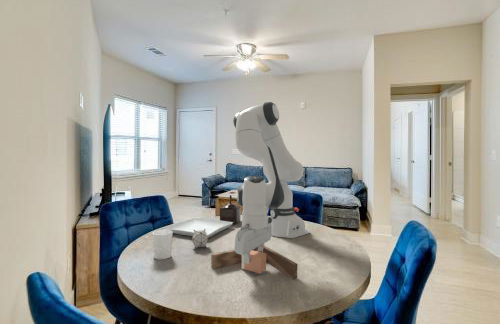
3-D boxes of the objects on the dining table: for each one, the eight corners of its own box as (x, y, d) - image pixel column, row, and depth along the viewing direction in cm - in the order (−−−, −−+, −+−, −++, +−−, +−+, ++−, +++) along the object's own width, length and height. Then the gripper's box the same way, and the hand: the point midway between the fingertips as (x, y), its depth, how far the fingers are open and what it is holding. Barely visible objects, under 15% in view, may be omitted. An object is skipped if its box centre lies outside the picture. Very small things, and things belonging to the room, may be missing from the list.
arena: (262, 256, 114) (262, 244, 114) (297, 278, 95) (297, 263, 95) (211, 267, 103) (211, 253, 103) (239, 294, 84) (239, 278, 83)
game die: (202, 257, 123) (204, 243, 117) (185, 248, 124) (187, 235, 118) (211, 242, 130) (214, 228, 124) (195, 234, 131) (197, 220, 125)
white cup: (176, 254, 115) (176, 230, 115) (164, 261, 108) (164, 236, 108) (160, 252, 118) (160, 228, 118) (148, 258, 110) (148, 233, 110)
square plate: (234, 228, 157) (234, 221, 157) (207, 242, 132) (207, 234, 132) (194, 222, 168) (194, 216, 168) (162, 235, 143) (162, 227, 143)
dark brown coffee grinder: (218, 223, 165) (218, 193, 164) (225, 219, 176) (225, 191, 175) (243, 225, 161) (243, 195, 160) (248, 221, 171) (249, 192, 171)
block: (266, 269, 100) (266, 253, 100) (260, 274, 97) (260, 256, 97) (247, 264, 105) (247, 249, 104) (241, 268, 101) (241, 252, 101)
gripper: (246, 229, 90) (245, 271, 90) (274, 217, 107) (274, 252, 107) (230, 226, 93) (229, 267, 93) (260, 214, 110) (260, 249, 111)
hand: (253, 259), depth 101 cm, fingers open, 7 cm apart
